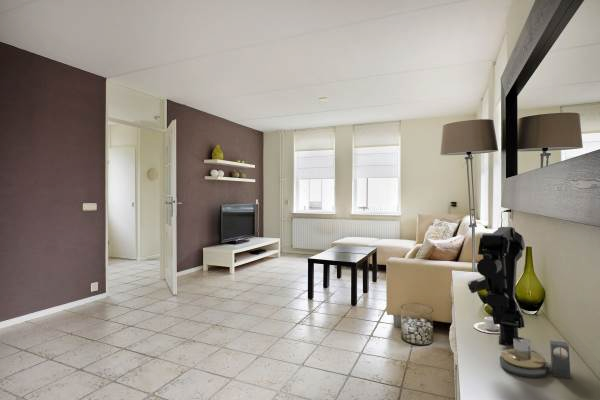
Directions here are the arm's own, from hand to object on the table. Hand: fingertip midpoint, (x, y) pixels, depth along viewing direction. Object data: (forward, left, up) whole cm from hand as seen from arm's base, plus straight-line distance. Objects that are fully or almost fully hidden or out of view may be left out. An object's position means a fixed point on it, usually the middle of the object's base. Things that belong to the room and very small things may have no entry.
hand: (498, 318), depth 114 cm
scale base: (+7, +8, -12) cm, 16 cm away
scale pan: (+7, +6, -10) cm, 13 cm away
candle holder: (-25, -3, -13) cm, 28 cm away
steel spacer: (+7, +6, -9) cm, 13 cm away
